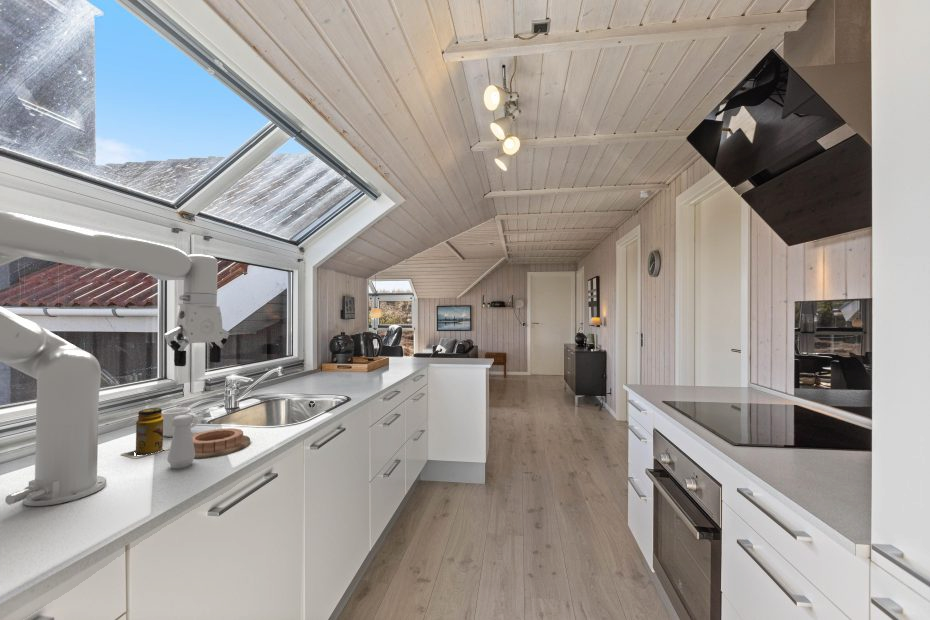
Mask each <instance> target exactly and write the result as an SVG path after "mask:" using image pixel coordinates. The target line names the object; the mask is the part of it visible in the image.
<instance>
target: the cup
mask: <svg viewBox="0 0 930 620" xmlns="http://www.w3.org/2000/svg"><path fill="white" fill-rule="evenodd" d="M191 410H192V409H191V408H190V407H174V408H168V409H165V410H164V409H163V410H162V417H163V437H166V438H167V437H168V438H171V437H172V438H173V435H174V431H175V426H173V425H172V419H173V418H174V417H176V416H179V415H191V416H192V418H193V422H192V423H193V424H192V423H191V424H190V429H192V428H194V427H196V426H197V425H198V422H199V417H198V415H197V414H196V413H194V412H192V411H191Z"/></svg>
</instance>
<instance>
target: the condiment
mask: <svg viewBox="0 0 930 620" xmlns="http://www.w3.org/2000/svg"><path fill="white" fill-rule="evenodd" d="M162 411H163V409H162V408H160V407H151V408H145V409H141V410H139V411H138V412H137V413H138V416H137V418H138V420H137V421H136V424H135V425H136V426H135V427H136V428H135V431H136V432H135V449H134V450H132V451H128V452H124V453H121V454H120V455H121V456H124V457H127V458H131V459H135V460H137V459H138V458H143V457H146V456H151V455H152V454H151V453H155V452H157V453H155V454H158V453H159V452H158V451H161V450H163V448H165V449H167V450H165V449H164V450H165V451H169V450H170V447H169V448H168V447H164V445H163V444H164V435H163V417H162ZM134 452H135V453H136V456H134ZM146 454H149V455H146ZM137 455H143V456H137Z"/></svg>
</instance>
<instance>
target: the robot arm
mask: <svg viewBox="0 0 930 620" xmlns="http://www.w3.org/2000/svg"><path fill="white" fill-rule="evenodd" d="M24 257H25V258H29V259H34V260H35V259H37V260H41V261H49V262H53V263H60V264H64V265H69V266H70V265H71V266H74V267H81V268H86V269H87V268H88V269H102V270H103V269H116V270H124V271H125V270H126V271H133V272H140V273H143V274H144V273H145V274H148V275H149V276H150V277H152V278H154V279H155V280H158V281H159V280H160V281H183V290H182V291H183V292H182V293H183V295H181V294H180V295H179V298H178V299H179V301H182V305H180V307H179V311H178V314H177V321H176V328H174V329H171V330H170V331H169V330H168V332H166V333H164V334H163V337H164V339H165V341H166V343H167V346H169V347H170V348H171V350H172V351H173V362H174V366H175V367H186V366H187V365H186V364H187V351H186V350H185V349H186V348H187V346H188V345H189V344H190V343H191V344H202V343H209V344H210V346H211V347H210V349H209V351H210V352H209V362H210V363H216V364H217V363H221V354H222V353H221V352H222V349H223V348H224V345H225V344H226V342H227V340H228V338H229V336H230V331H228V330H226V329H224V328H223V318H222V317H223V316H222V312H221V308H220V306H217V305H218V304H217V302H218V278H219V277H218V272H219V262H218V259H217V258H216V257H215V256H211V255H206V254H194V253H193V254H188V255H187V254H186V252H184V251H183V250H181V249H179V248H177V247H174V246H170V245H165V244H161V243H157V242H152V241H148V240H144V239H139V238H135V237H134V238H133V237H127V236H122V235H115V234H112V233H107V232H99V231H94V230H91V229H86V228H80V227H77V226H72V225H67V224H65V223H59V222H55V221H50V220H46V219H43V218H37V217H33V216H29V215H25V214H21V213H15V212H7V211H5V212H4V211H3V212H2V211H0V267H1V266H4V265H6V264H9V263H12V262H15V261H17V260H19V259H22V258H24ZM175 337H176V338H175ZM0 363H3V364H5V365H6V366H9V367H11V368H13V369H15V370H17V371H19V372H21V373H23V374H25V375H27V376H29V377H31V378H33V379H35V380H36V409H35V410H36V411H35V450H34V451H35V452H34V453H35V454H34V456H35V458H34V479H32V480H30V481H29V480H28V486H26V487H25V488H23V489H22V490H19V491H16V492H13V493H11V494H8V495H7V496H5V500H4V501H5V503H6V504H7V505H11V506H12V505H13V504H16V503H19V502H22V503H23V505H25V506H27V507H46V506H53V505H59V504H63V503H66V502H67V503H68V502H72V501H75V500H78V499H81V498H85V497H87V496H90V495H92V494H94V493H97V492H99V491H101V490H102V489H103V488H104V487H106V485H107V477H104V476H100V475H98V450H99V449H98V448H99V405H100V403H99V401H100V390H101V383H102V382H101V379H102V370H101V369H102V368H101V365H100V363H99V360H98V358H96V356H94V354H92V353H90V352H88V351H86V350H84V349H82V348H80V347H78V346H76V345H74V344H72V343H71V342H69V341H67V340H66V339H64V338H62V337H60V336H59V335H58V334H57V335H56V334H55V333H53V332H51V330H50V331H49V330H48V329H46V328H44V327H43V326H41V325H39V324H37V322H34V321H33V320H31V319H27V318H25V317H21V316H20V315H17V314H15V313H13V312H12V311H10V310H8V309H6V308H4V307H3V306H1V305H0Z"/></svg>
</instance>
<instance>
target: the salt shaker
mask: <svg viewBox="0 0 930 620" xmlns="http://www.w3.org/2000/svg"><path fill="white" fill-rule="evenodd" d="M193 422H194V418H193V417H192V416H191V415H179V416H176V417H174V418H173V419H172V425H173V426H175V431H174V435H173V437H172V438H171V442H170V443H171V444H170V447H169V449H168V454H167V462H168V463H169V465H170V467H171V469H172V470H177V469H179V470H180V469H184V468H187V467H190V466H191V465H192V464H193V461H194V460H195V459H194V457H195V449H194V444H193V439H192V435H193V434H192V428H190V424H191V425H192V423H193Z"/></svg>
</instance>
